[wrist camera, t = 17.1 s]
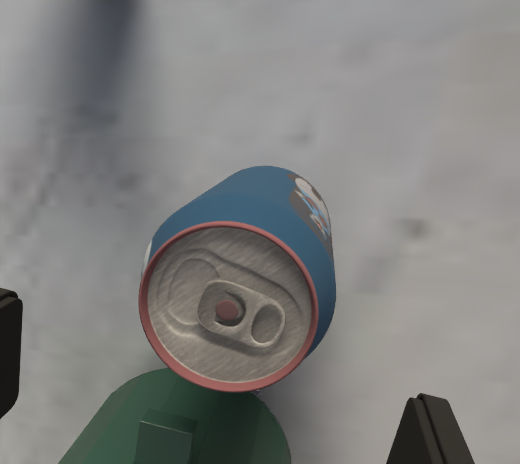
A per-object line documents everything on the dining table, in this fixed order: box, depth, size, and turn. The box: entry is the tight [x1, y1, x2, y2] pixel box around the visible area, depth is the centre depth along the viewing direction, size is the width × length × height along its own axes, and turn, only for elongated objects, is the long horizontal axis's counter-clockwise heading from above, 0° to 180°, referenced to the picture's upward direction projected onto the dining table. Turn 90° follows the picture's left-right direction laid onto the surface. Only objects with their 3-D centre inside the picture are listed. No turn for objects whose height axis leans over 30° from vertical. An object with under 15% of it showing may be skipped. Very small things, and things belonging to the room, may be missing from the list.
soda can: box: [139, 166, 336, 392], centre depth 20 cm, size 7×7×12 cm
